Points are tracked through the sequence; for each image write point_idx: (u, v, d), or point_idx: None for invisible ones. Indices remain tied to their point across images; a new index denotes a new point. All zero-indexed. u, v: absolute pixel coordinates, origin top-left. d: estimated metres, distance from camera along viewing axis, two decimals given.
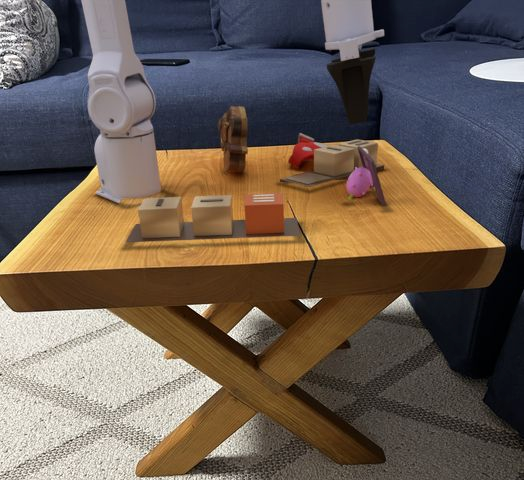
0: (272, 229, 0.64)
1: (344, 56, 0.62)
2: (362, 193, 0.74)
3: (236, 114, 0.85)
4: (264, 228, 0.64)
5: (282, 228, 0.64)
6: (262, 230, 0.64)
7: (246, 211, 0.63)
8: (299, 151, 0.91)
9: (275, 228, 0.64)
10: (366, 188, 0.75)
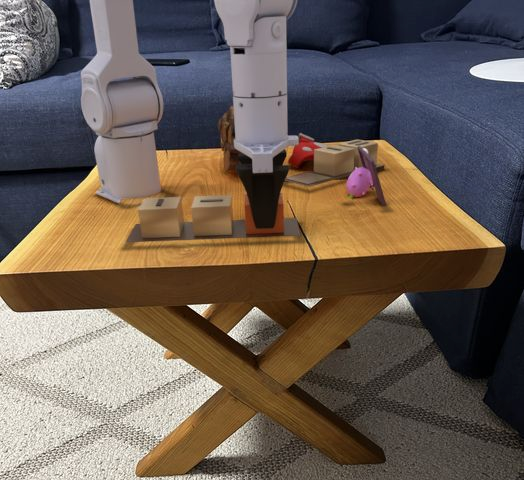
0: (272, 229, 0.64)
1: (256, 169, 0.56)
2: (362, 193, 0.74)
3: None
4: (264, 228, 0.64)
5: (282, 228, 0.64)
6: (262, 230, 0.64)
7: (246, 211, 0.63)
8: (299, 151, 0.91)
9: (275, 228, 0.64)
10: (366, 188, 0.75)
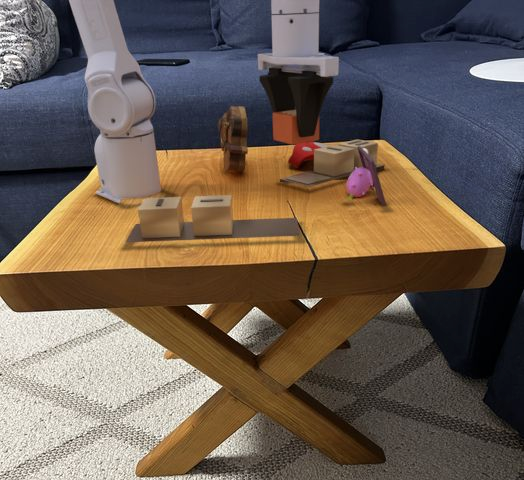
0: (311, 137, 0.73)
1: (328, 73, 0.65)
2: (362, 193, 0.74)
3: (236, 114, 0.85)
4: (305, 137, 0.73)
5: (318, 135, 0.74)
6: (304, 139, 0.73)
7: (292, 122, 0.71)
8: (299, 151, 0.91)
9: (313, 136, 0.73)
10: (366, 188, 0.75)
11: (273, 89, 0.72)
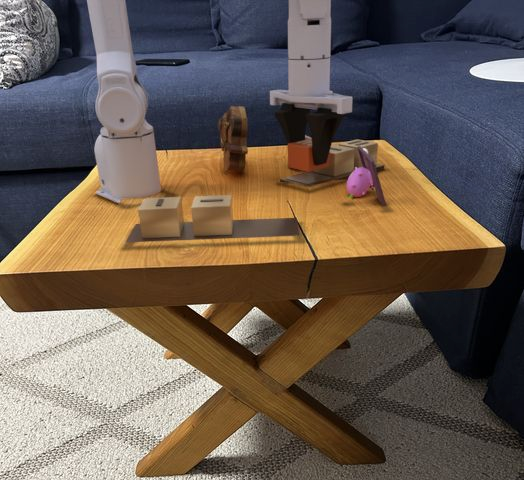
0: (323, 164, 0.82)
1: (344, 110, 0.74)
2: (362, 193, 0.74)
3: (236, 114, 0.85)
4: None
5: (328, 162, 0.83)
6: (317, 166, 0.81)
7: (309, 152, 0.79)
8: None
9: (325, 163, 0.82)
10: (366, 188, 0.75)
11: (288, 123, 0.81)
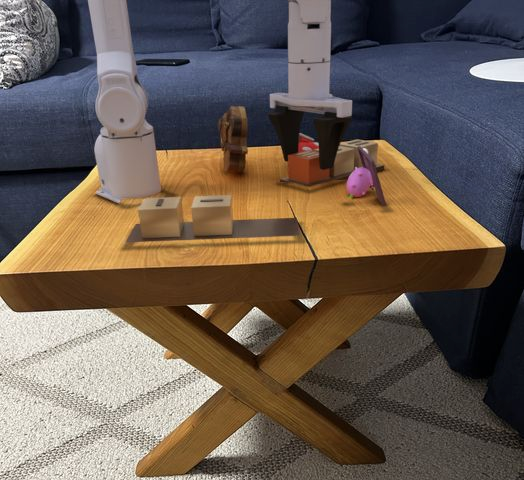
0: (323, 176, 0.83)
1: (344, 114, 0.74)
2: (362, 193, 0.74)
3: (236, 114, 0.85)
4: (318, 176, 0.82)
5: (328, 174, 0.83)
6: (317, 178, 0.82)
7: (309, 164, 0.80)
8: (299, 151, 0.91)
9: (325, 175, 0.83)
10: (366, 188, 0.75)
11: (281, 125, 0.82)
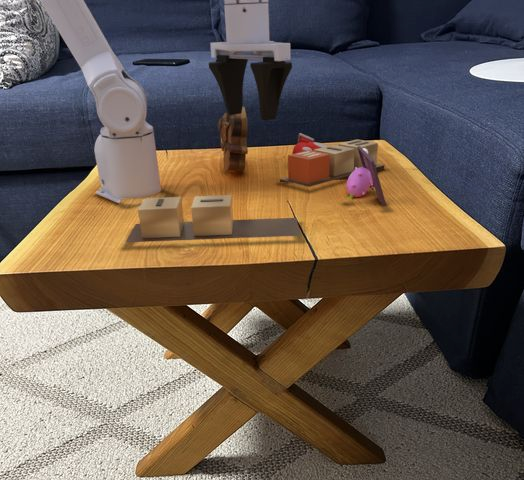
0: (323, 176, 0.83)
1: (281, 57, 0.70)
2: (362, 193, 0.74)
3: (236, 114, 0.85)
4: (318, 176, 0.82)
5: (328, 174, 0.83)
6: (317, 178, 0.82)
7: (309, 164, 0.80)
8: (299, 151, 0.91)
9: (325, 175, 0.83)
10: (366, 188, 0.75)
11: (222, 75, 0.78)
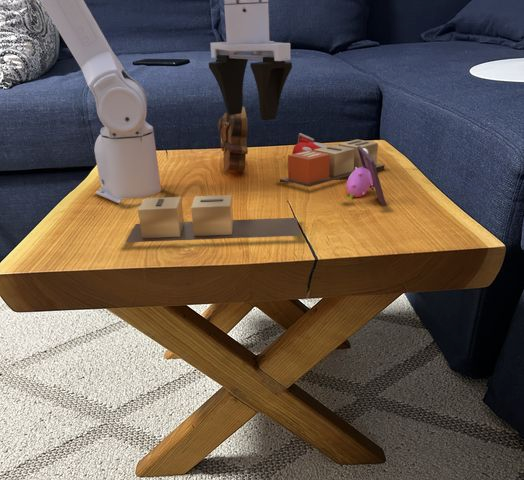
0: (323, 176, 0.83)
1: (281, 57, 0.70)
2: (362, 193, 0.74)
3: (236, 114, 0.85)
4: (318, 176, 0.82)
5: (328, 174, 0.83)
6: (317, 178, 0.82)
7: (309, 164, 0.80)
8: (299, 151, 0.91)
9: (325, 175, 0.83)
10: (366, 188, 0.75)
11: (222, 75, 0.78)
